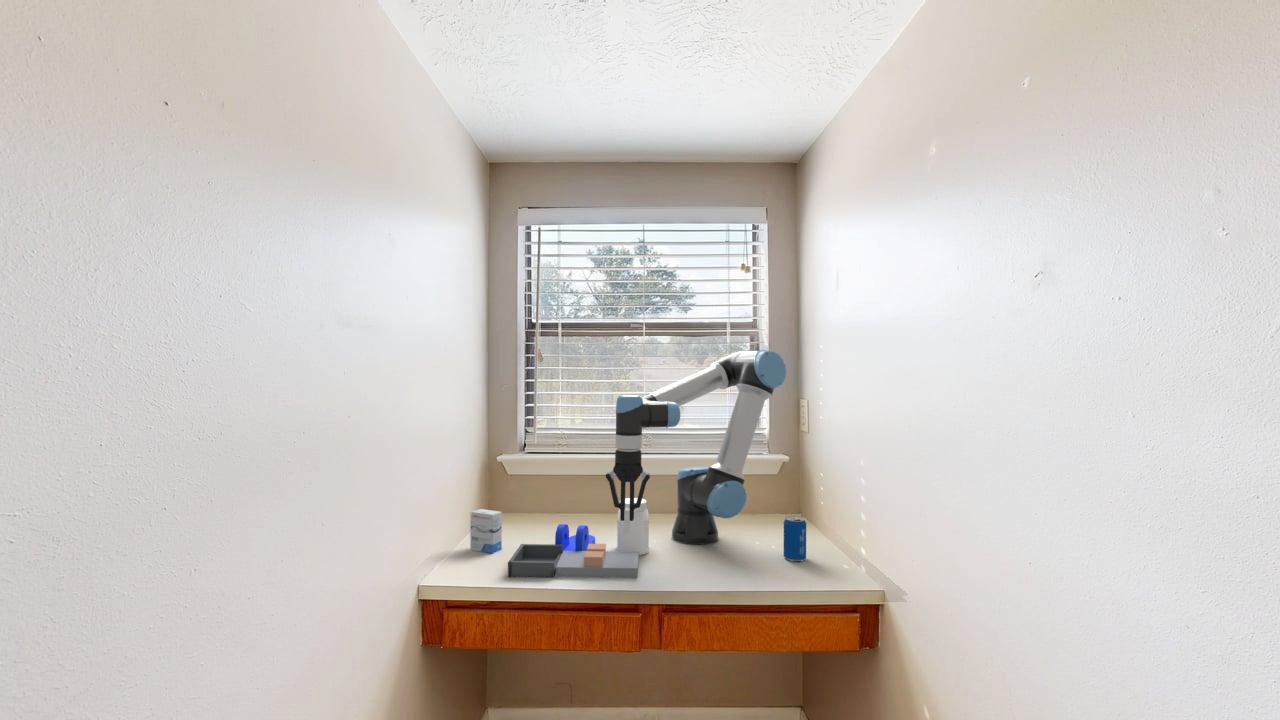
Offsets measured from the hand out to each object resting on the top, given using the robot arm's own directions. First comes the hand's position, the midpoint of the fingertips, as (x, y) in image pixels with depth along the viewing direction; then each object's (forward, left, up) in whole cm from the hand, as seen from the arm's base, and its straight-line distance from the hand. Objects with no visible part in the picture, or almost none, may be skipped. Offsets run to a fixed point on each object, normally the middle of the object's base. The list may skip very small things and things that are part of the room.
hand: (626, 531), depth 173 cm
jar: (-1, -14, -10) cm, 17 cm away
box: (+25, +3, -9) cm, 27 cm away
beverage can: (-49, -7, -10) cm, 51 cm away
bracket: (+16, -14, -10) cm, 23 cm away
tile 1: (+9, 0, -7) cm, 11 cm away
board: (+8, +3, -9) cm, 12 cm away
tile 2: (+9, +7, -7) cm, 13 cm away
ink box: (+44, -12, -10) cm, 46 cm away
